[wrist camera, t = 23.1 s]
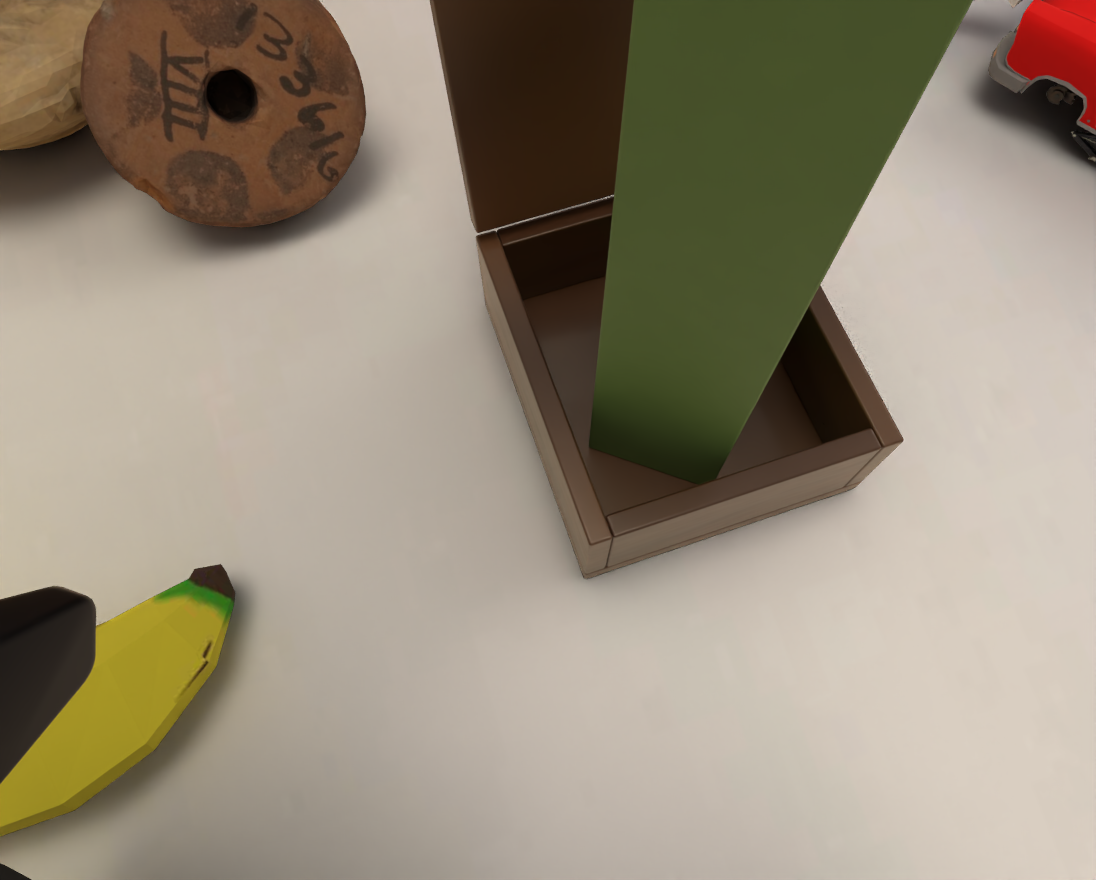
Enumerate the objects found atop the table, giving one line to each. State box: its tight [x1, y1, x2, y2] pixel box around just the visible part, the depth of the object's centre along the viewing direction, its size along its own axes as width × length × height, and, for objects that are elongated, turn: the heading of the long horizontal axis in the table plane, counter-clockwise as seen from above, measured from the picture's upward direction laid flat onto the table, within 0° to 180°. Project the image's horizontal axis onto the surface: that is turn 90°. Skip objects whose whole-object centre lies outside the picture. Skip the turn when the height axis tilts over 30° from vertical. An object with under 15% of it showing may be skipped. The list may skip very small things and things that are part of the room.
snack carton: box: [589, 0, 973, 485], centre depth 16 cm, size 5×4×17 cm
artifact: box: [80, 0, 366, 227], centre depth 26 cm, size 8×8×5 cm
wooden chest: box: [476, 197, 903, 579], centre depth 23 cm, size 9×8×4 cm
